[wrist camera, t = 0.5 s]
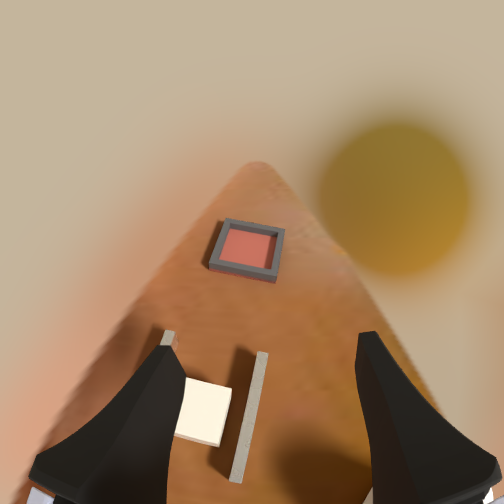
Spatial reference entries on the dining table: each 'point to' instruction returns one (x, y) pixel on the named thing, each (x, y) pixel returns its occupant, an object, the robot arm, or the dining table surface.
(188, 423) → the block
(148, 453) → the robot arm
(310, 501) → the dining table surface
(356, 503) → the dining table surface
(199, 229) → the dining table surface
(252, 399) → the channel
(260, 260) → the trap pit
